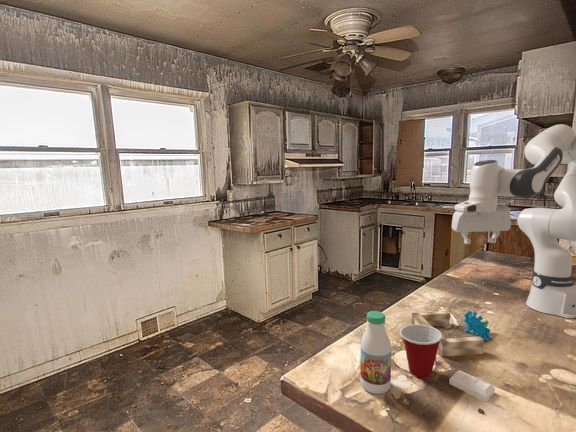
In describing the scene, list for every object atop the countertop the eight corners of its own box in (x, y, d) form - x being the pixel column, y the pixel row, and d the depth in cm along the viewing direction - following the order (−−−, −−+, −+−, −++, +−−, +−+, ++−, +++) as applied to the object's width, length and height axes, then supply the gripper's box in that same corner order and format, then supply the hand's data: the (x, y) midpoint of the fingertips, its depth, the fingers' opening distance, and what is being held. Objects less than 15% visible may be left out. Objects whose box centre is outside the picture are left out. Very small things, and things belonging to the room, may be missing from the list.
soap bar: (457, 377, 89) (458, 368, 88) (494, 394, 82) (495, 384, 81) (449, 384, 86) (449, 375, 85) (486, 403, 79) (487, 393, 78)
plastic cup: (402, 356, 98) (402, 319, 96) (441, 366, 93) (443, 326, 91) (395, 377, 89) (396, 337, 87) (439, 389, 84) (441, 346, 82)
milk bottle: (356, 377, 89) (356, 308, 86) (383, 374, 90) (384, 306, 87) (365, 396, 82) (366, 322, 79) (395, 393, 82) (396, 320, 79)
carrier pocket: (446, 322, 118) (447, 310, 117) (483, 353, 98) (484, 339, 98) (411, 324, 117) (412, 313, 117) (441, 356, 97) (442, 342, 97)
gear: (478, 341, 102) (461, 311, 108) (464, 347, 106) (448, 318, 112) (499, 337, 107) (482, 308, 113) (485, 343, 111) (469, 315, 117)
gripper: (504, 204, 120) (501, 240, 123) (450, 205, 120) (448, 242, 122) (516, 206, 114) (513, 244, 116) (460, 207, 113) (457, 246, 116)
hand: (479, 243), depth 119 cm, fingers open, 8 cm apart
